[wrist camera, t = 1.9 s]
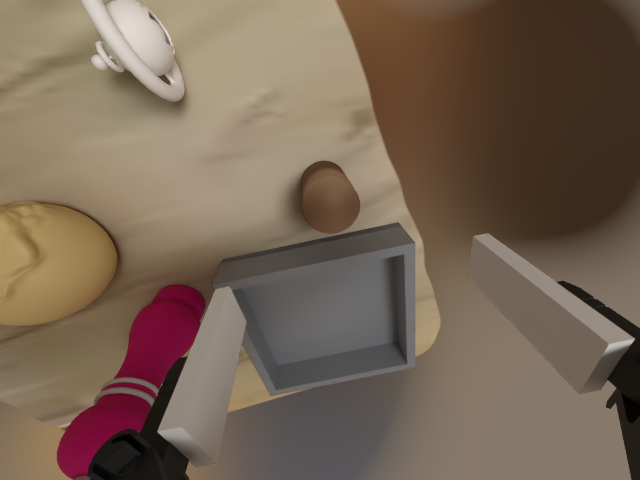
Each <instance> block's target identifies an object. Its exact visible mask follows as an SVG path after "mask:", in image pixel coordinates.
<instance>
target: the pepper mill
mask: <svg viewBox="0 0 640 480" xmlns="http://www.w3.org/2000/svg"><path fill="white" fill-rule="evenodd" d="M205 306H206V305H205V300H204V298H203V297H202V295H201V294H200V293H199V292H198V291H196V290H195V289H193V288H191V287H188V286H184V285H171V286H167V287H165V288H163V289H161V290H160V291H159V292H158V294H157V295H156V297H155V298H154V300H153V301H152V303H151V304H150V305H148V306H146V307H145V308H143V309H142V310H141V311H140V312H139V313H138V315H137V317H136V318H135V320H134V322H133V324H132V327H131V330H130V334H129V344H128V350H127V354H126V358H125V361H124V363H123V364H122V366H121V368H120V370H119V372H118V374H117V375H116V376H115V378H114V379H113V380H110V381H108V382H107V383H105V384H104V386H103V387H102V389H101V392H100V393H99V394H98V395H97V396H96V397H95V400H94V406H92V407H90V408H88V409H86V410H85V411H83V412H82V413H80V414H79V415H78V416H77V417H76V418H75V419H74V420H73V421H72V422H71V424H70V425H69V426H68V428H67V429H66V431H65V433H64V435H63V437H62V438H61V441H60V443H59V447H58V451H57V463H58V465H59V468H60V469H61V471H62V472H63V473H64V474H65V475H66V476H68V477H69V478H71V479H73V480H89V479H91V478H89V477H87V474H88V467H89V465H90V463H91V461H92V458H93V456H94V455H95V454H96V452H97V451H98V450H99V448H100V447H101V446H102V445H103V444H104V443H105V442H106V441H107V440H108V439H109V438H110V437H111V436H113V435H115V434H116V433H118V432H119V431H122V430H125V429H128V428H129V429H135V430H136V431H137V432H138V433H140V431H141V429H142V427H143V425H144V422H145V420H146V418H147V416H148V414H149V412H150V409H151V407H152V405H153V403H154V401H155V398H156V397H157V396H158V392H159V389H160V386H161V384H162V382H163V380H164V378H165V376H166V375H167V372H168V370H169V369H170V368H171V367H172V365H173V364H174V363H175V362H176V360H177V359H178V358H181V357H182V356H183V355H184V354H185V353H186V352H187V351H188V350H189V349H190V348H191V346H192V345H193V343H194V341H195V338H196V336H197V333H198V331H199V328H200V321H199V320H200V319H201V317H202V315H203V312H204V310H205Z"/></svg>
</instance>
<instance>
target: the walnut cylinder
mask: <svg viewBox="0 0 640 480" xmlns="http://www.w3.org/2000/svg"><path fill="white" fill-rule="evenodd" d="M301 189H302V202H303V213H304V216H305V219H306V221H307V222H308V224H309V225H310V226H311V227H312V228H314V229H315V230H317V231H319V232H322V233H337V232H341V231H343V230H345V229H347V228H348V227H349V226H351V225H352V224H353V222H354V221H355V220H356V218H357V216H358V214H359V210H360V200H359V197H358V194H357V192H356V191H355V189H354V188H353V186H352V185H351V183H350V181H349V180H348V178H347V177H346V175H345V174H344V172H343V171H342V169H341V168H340V167H339V166H338V165H337V164H335V163H333V162H330V161H319V162H316V163H314V164H312V165H310V166H309V167H308V168H307V169H306V170H305V172H304V174H303V176H302V180H301Z"/></svg>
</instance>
